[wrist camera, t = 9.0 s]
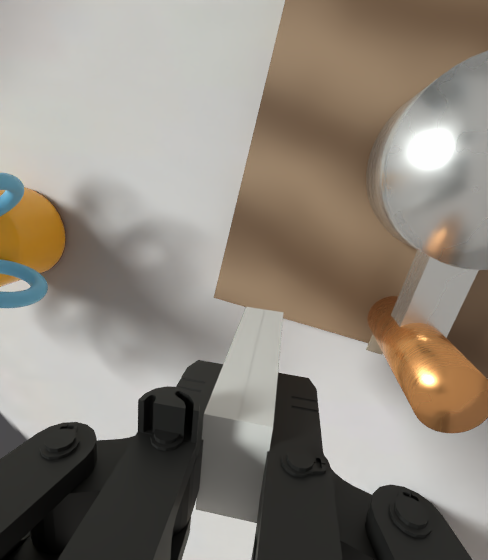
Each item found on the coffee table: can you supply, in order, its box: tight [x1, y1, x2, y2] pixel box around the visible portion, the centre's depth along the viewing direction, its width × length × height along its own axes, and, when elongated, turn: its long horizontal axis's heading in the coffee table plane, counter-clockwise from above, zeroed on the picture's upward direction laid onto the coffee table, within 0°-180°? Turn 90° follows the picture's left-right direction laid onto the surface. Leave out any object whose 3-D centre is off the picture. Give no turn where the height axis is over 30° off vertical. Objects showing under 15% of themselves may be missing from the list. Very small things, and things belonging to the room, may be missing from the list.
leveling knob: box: [366, 51, 488, 433], centre depth 14 cm, size 13×8×8 cm, turn 166°
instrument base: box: [214, 0, 488, 378], centre depth 17 cm, size 20×20×4 cm
